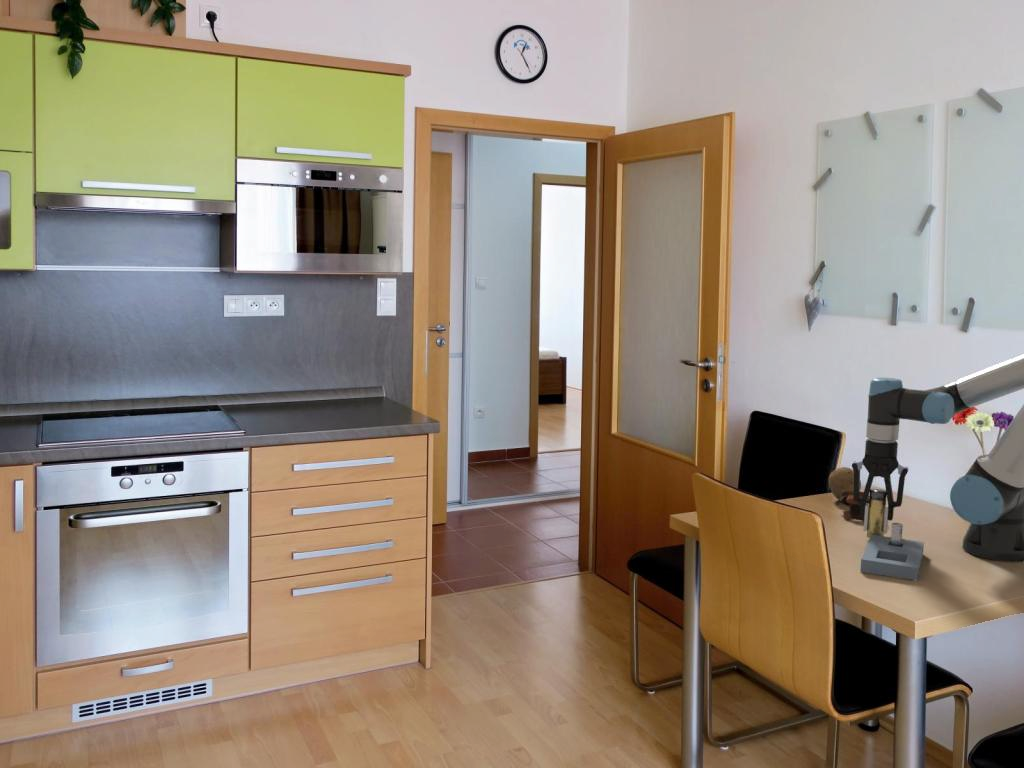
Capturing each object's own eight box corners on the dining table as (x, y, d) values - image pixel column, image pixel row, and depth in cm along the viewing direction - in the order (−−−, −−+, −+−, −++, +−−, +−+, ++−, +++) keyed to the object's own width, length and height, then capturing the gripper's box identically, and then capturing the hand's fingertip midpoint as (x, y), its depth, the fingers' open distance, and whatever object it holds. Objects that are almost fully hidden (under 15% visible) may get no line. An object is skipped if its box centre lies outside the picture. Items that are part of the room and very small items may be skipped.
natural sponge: (843, 495, 295) (845, 462, 294) (866, 503, 288) (869, 469, 286) (820, 498, 291) (823, 465, 290) (843, 506, 283) (846, 472, 282)
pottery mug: (832, 519, 271) (832, 490, 274) (846, 528, 278) (846, 500, 281) (875, 516, 264) (875, 487, 267) (889, 526, 270) (889, 497, 273)
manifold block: (923, 554, 241) (924, 542, 240) (916, 580, 221) (918, 567, 221) (870, 546, 246) (871, 534, 245) (860, 571, 226) (861, 559, 226)
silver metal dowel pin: (900, 555, 239) (903, 523, 238) (899, 558, 237) (902, 526, 236) (889, 554, 240) (892, 522, 239) (888, 556, 238) (891, 524, 237)
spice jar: (884, 536, 252) (887, 490, 250) (882, 540, 248) (886, 493, 247) (867, 534, 254) (870, 488, 252) (865, 538, 250) (869, 491, 248)
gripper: (919, 440, 247) (912, 532, 250) (848, 434, 254) (842, 522, 258) (917, 446, 241) (910, 539, 244) (844, 438, 248) (838, 530, 251)
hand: (875, 530), depth 251 cm, fingers closed on spice jar, 4 cm apart
